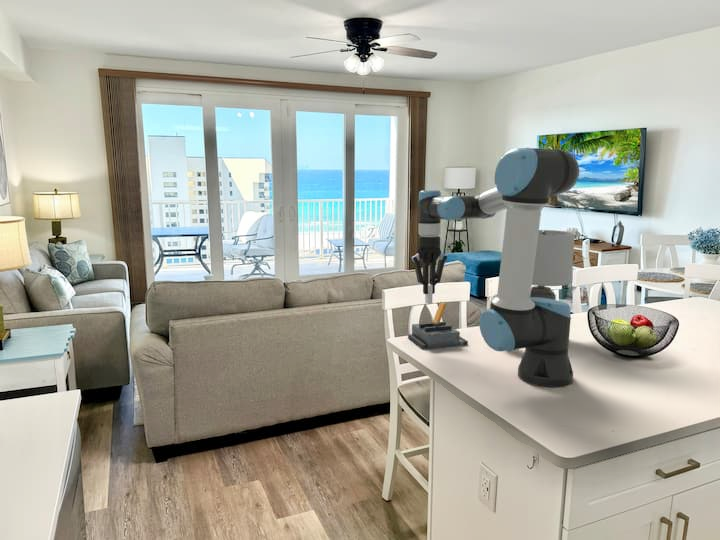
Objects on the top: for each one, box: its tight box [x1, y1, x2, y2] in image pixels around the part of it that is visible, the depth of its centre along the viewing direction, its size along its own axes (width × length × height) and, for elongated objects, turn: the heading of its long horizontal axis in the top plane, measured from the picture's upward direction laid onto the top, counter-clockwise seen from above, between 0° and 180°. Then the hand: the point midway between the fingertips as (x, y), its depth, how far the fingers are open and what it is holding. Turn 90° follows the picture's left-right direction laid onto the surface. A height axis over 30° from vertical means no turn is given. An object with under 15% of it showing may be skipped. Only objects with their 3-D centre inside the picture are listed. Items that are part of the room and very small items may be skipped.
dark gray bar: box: [407, 333, 427, 350], centre depth 184 cm, size 13×1×1 cm, turn 17°
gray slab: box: [458, 336, 469, 347], centre depth 188 cm, size 14×3×1 cm, turn 17°
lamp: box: [530, 229, 576, 300], centre depth 190 cm, size 20×20×39 cm
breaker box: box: [411, 321, 461, 350], centre depth 186 cm, size 14×12×6 cm
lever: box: [431, 301, 447, 326], centre depth 185 cm, size 3×1×9 cm, turn 16°
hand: (428, 303), depth 182 cm, fingers closed
